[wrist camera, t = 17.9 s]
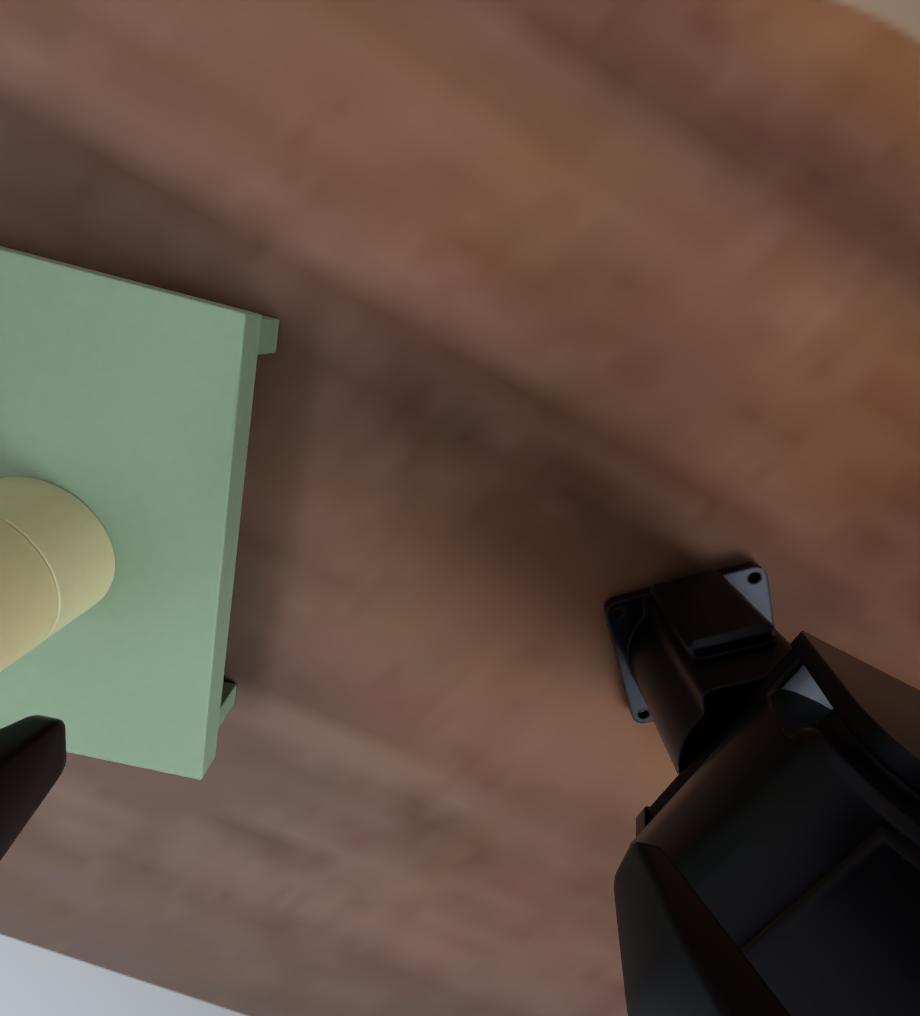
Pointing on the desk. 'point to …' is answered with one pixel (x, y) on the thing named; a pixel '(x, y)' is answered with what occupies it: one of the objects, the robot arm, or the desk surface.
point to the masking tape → (46, 563)
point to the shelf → (132, 499)
